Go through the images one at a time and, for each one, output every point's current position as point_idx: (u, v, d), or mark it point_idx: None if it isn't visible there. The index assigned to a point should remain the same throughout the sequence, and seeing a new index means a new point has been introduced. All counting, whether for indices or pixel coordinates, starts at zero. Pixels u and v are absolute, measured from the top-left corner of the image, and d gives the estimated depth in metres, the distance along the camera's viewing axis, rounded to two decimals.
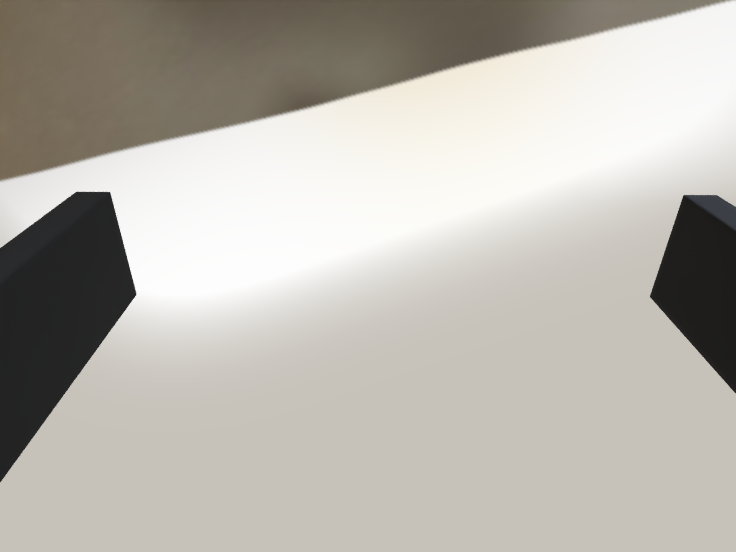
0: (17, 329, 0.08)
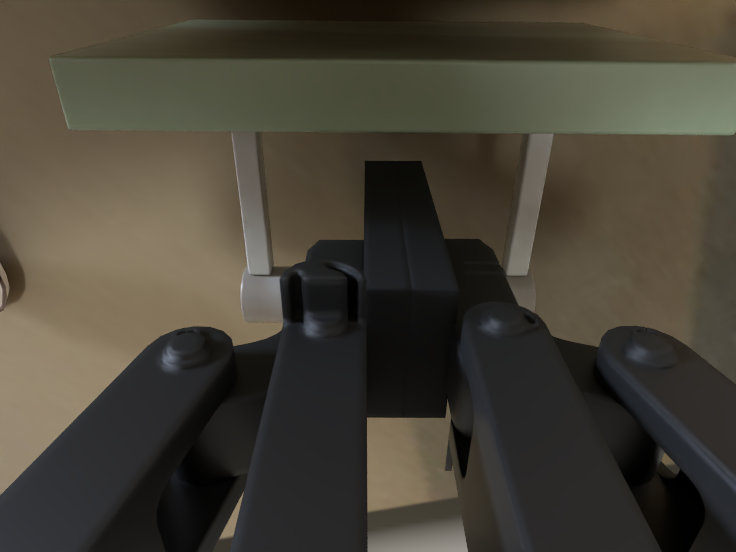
0: None
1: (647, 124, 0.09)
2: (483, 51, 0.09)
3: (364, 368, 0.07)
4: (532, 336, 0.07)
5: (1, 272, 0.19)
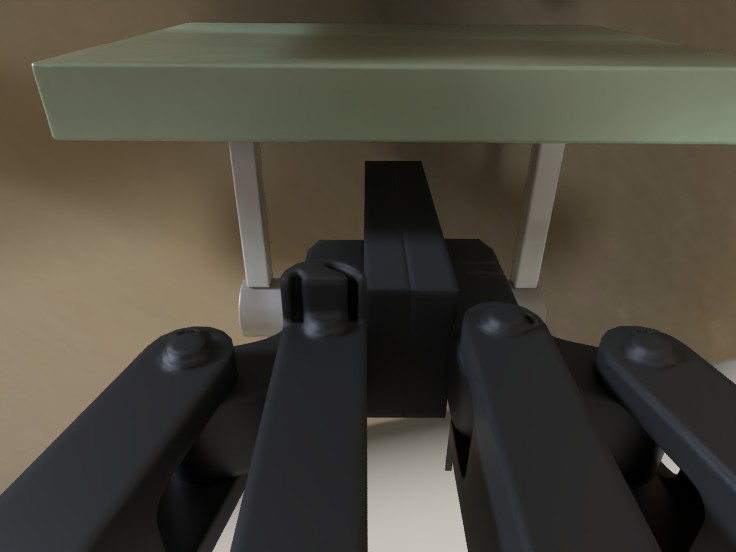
0: None
1: (670, 133, 0.08)
2: (494, 55, 0.09)
3: (364, 368, 0.07)
4: (532, 336, 0.07)
5: None
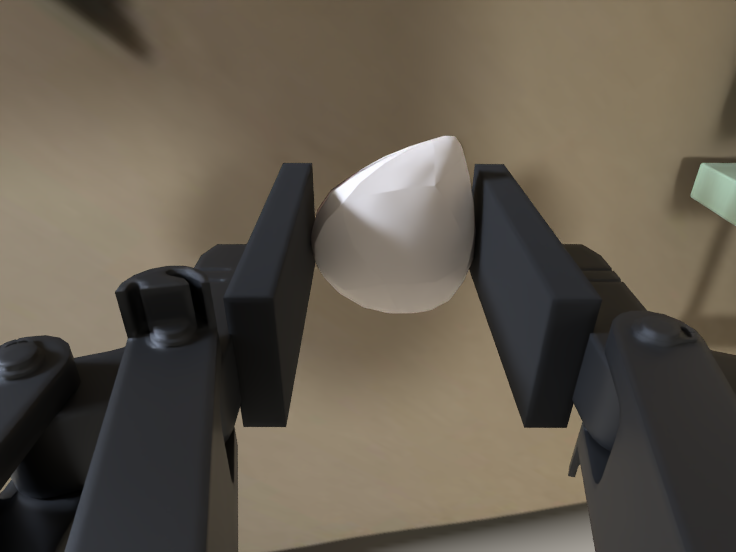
0: (295, 267, 0.10)
1: None
2: None
3: (212, 372, 0.07)
4: (689, 350, 0.07)
5: None
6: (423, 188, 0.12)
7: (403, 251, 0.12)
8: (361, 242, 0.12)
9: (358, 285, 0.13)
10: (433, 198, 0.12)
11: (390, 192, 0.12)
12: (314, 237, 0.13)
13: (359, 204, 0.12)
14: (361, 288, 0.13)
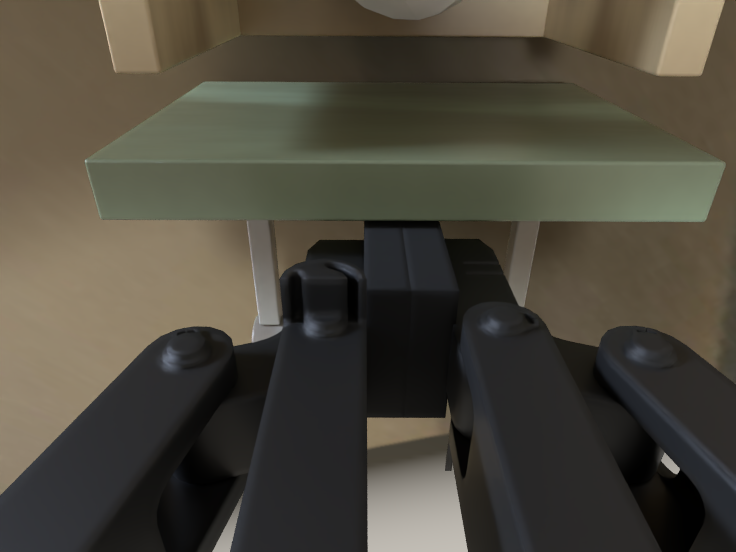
0: None
1: (625, 213, 0.10)
2: (476, 143, 0.10)
3: (364, 368, 0.07)
4: (532, 336, 0.07)
5: None
6: None
7: None
8: None
9: None
10: None
11: None
12: None
13: None
14: None
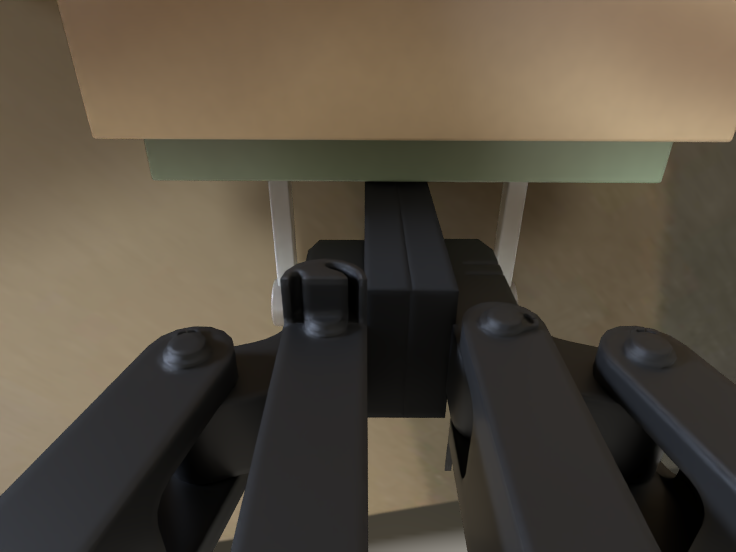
0: None
1: (593, 175, 0.12)
2: None
3: (365, 368, 0.07)
4: (531, 336, 0.07)
5: None
6: None
7: None
8: None
9: None
10: None
11: None
12: None
13: None
14: None
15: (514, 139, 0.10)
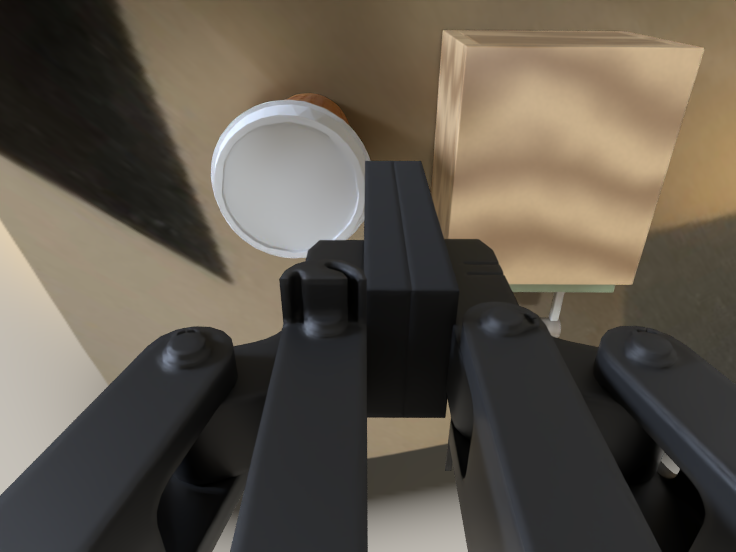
0: None
1: (591, 290, 0.36)
2: None
3: (364, 368, 0.07)
4: (532, 336, 0.07)
5: None
6: None
7: None
8: None
9: None
10: None
11: None
12: None
13: None
14: None
15: None
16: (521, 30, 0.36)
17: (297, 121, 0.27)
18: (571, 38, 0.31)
